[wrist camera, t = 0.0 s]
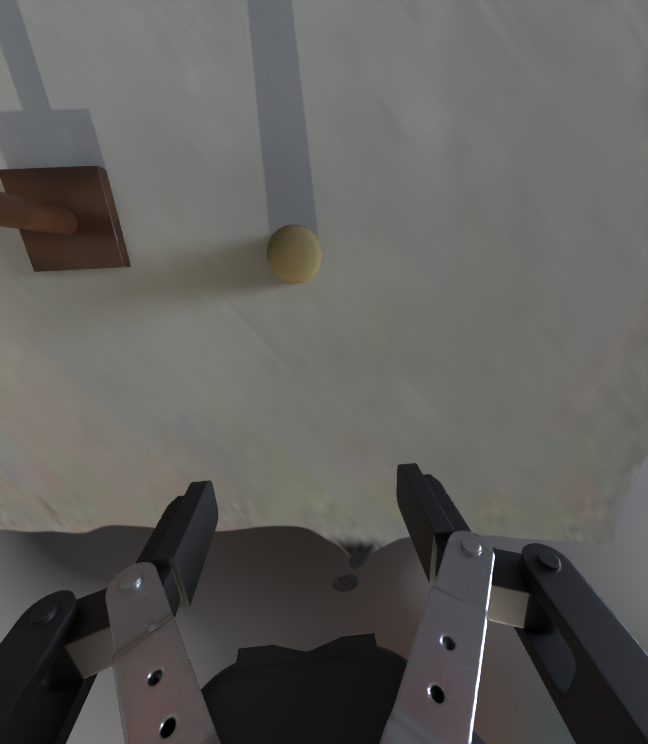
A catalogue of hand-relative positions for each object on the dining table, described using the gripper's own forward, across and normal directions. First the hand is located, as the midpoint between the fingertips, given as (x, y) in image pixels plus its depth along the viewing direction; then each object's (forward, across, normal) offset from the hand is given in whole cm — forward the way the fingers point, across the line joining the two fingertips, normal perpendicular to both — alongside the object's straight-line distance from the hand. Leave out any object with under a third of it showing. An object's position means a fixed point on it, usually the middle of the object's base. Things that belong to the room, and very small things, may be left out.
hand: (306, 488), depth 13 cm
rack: (+29, +25, -15) cm, 41 cm away
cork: (+30, 0, -10) cm, 31 cm away
